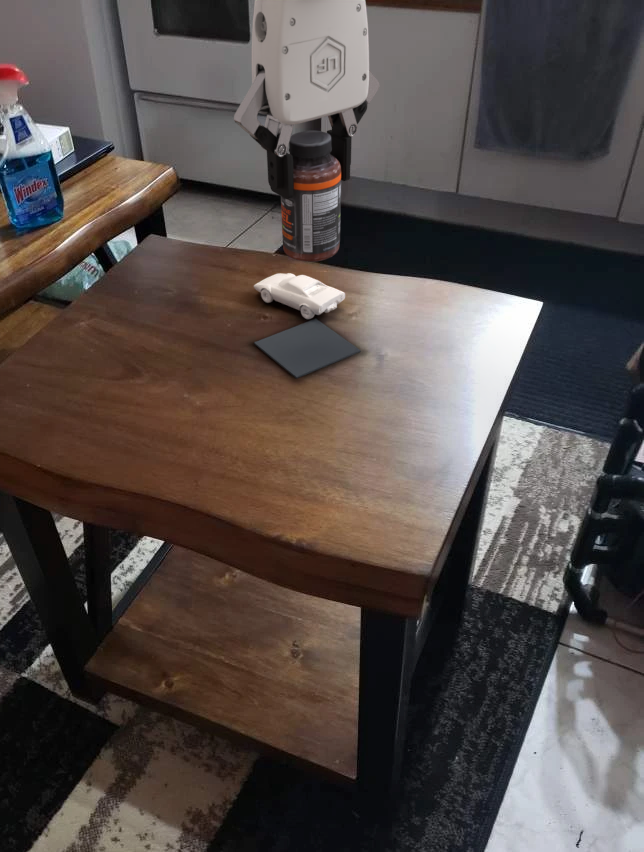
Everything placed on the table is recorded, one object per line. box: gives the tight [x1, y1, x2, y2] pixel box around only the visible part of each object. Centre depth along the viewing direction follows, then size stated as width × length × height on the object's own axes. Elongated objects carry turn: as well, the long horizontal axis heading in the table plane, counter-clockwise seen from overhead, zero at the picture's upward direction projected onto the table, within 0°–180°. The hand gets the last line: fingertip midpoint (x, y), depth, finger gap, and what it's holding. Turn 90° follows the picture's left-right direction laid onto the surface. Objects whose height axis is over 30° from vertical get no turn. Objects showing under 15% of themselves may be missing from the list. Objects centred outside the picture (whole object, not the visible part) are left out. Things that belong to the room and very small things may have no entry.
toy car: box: [253, 272, 346, 320], centre depth 94 cm, size 6×12×3 cm, turn 47°
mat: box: [253, 318, 361, 379], centre depth 88 cm, size 9×9×1 cm
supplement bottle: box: [280, 129, 342, 263], centre depth 74 cm, size 6×6×11 cm
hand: (310, 183), depth 73 cm, fingers closed on supplement bottle, 6 cm apart
